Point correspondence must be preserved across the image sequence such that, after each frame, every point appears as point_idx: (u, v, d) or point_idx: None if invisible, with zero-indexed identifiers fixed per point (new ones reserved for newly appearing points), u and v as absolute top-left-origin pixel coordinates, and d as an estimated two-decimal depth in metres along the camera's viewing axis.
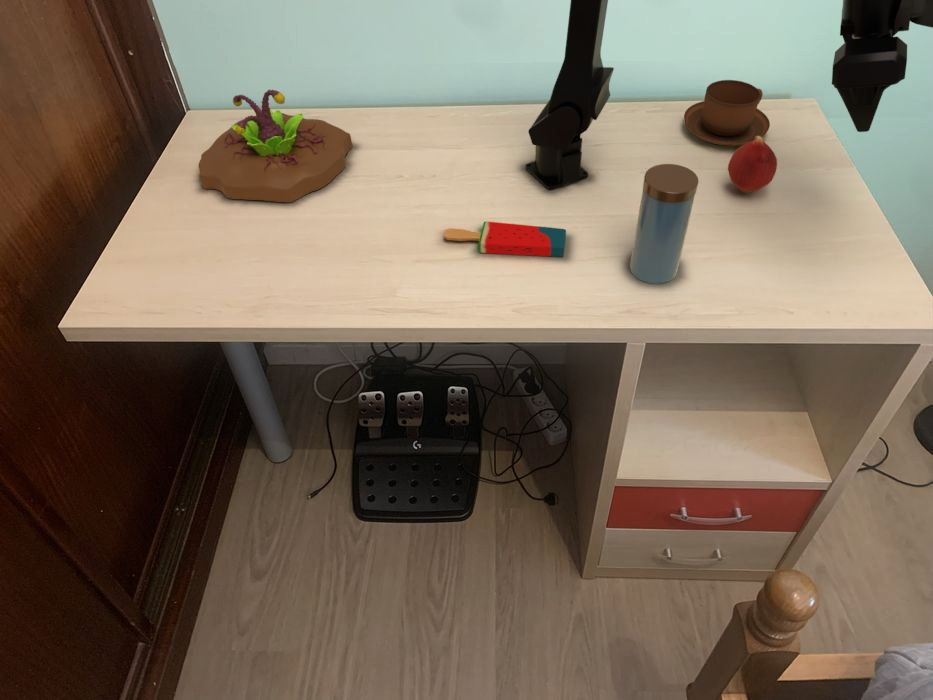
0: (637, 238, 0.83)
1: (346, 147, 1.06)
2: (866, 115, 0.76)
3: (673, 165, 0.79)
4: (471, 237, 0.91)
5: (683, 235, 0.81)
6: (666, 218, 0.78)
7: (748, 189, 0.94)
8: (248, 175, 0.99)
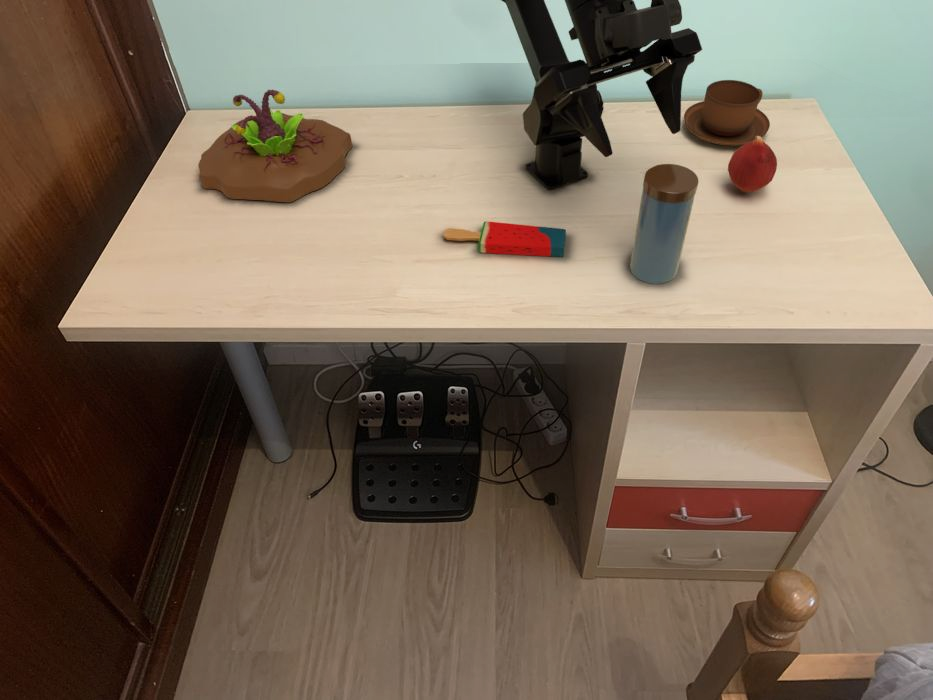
0: (637, 238, 0.83)
1: (346, 147, 1.06)
2: (596, 138, 0.78)
3: (673, 165, 0.79)
4: (471, 237, 0.91)
5: (683, 235, 0.81)
6: (666, 218, 0.78)
7: (748, 189, 0.94)
8: (248, 175, 0.99)
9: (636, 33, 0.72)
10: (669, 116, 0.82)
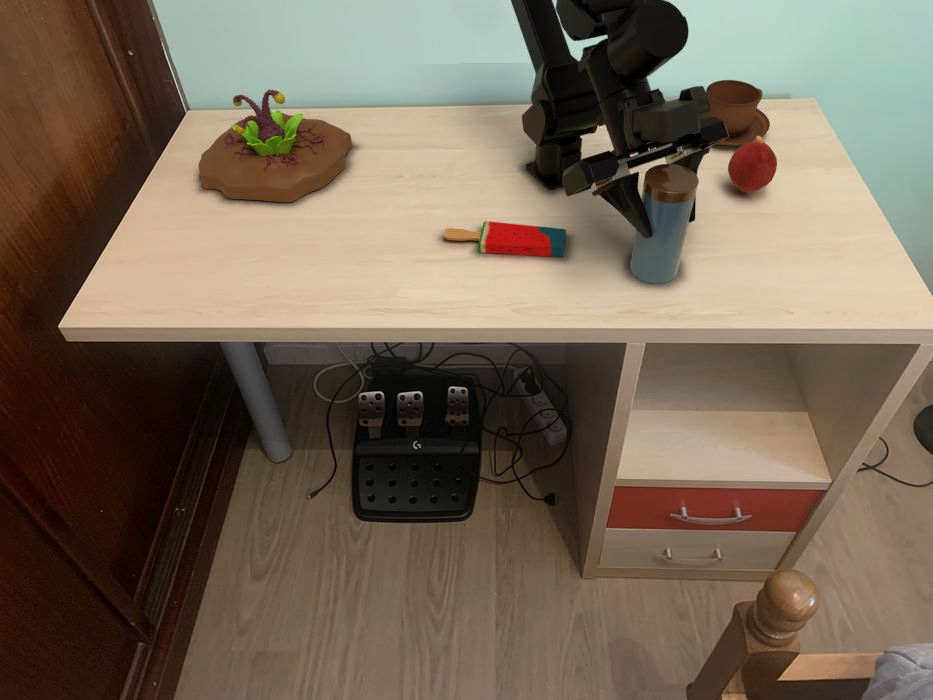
0: (637, 238, 0.83)
1: (346, 147, 1.06)
2: (637, 220, 0.80)
3: (673, 165, 0.79)
4: (471, 237, 0.91)
5: (683, 235, 0.81)
6: (666, 218, 0.78)
7: (748, 189, 0.94)
8: (248, 175, 0.99)
9: (665, 129, 0.73)
10: None
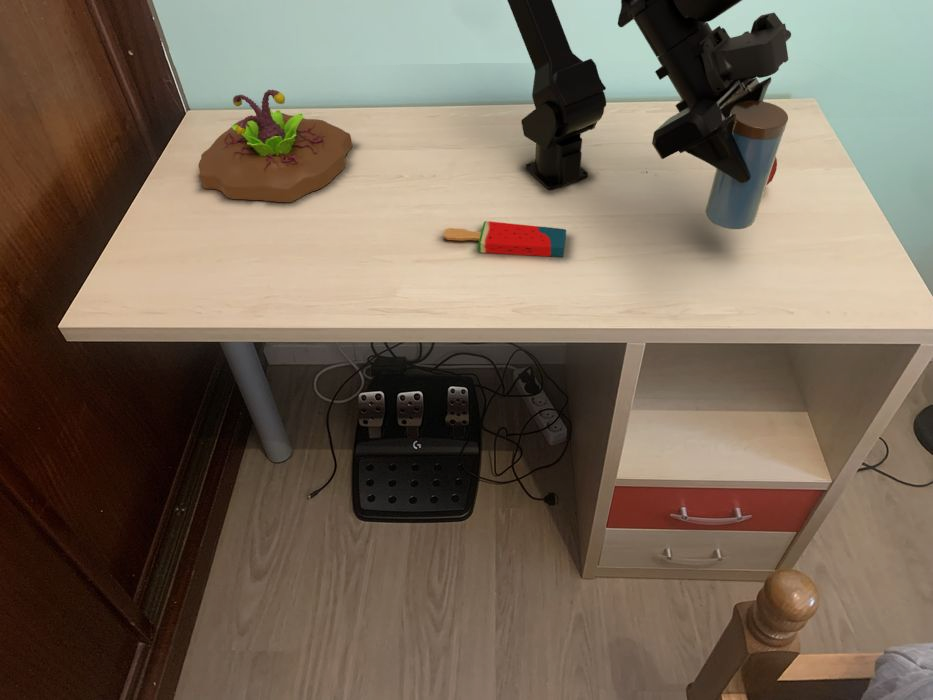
0: (724, 186, 0.79)
1: (346, 147, 1.06)
2: (734, 166, 0.76)
3: (749, 102, 0.76)
4: (471, 237, 0.91)
5: None
6: (764, 156, 0.75)
7: None
8: (248, 175, 0.99)
9: (768, 61, 0.69)
10: None
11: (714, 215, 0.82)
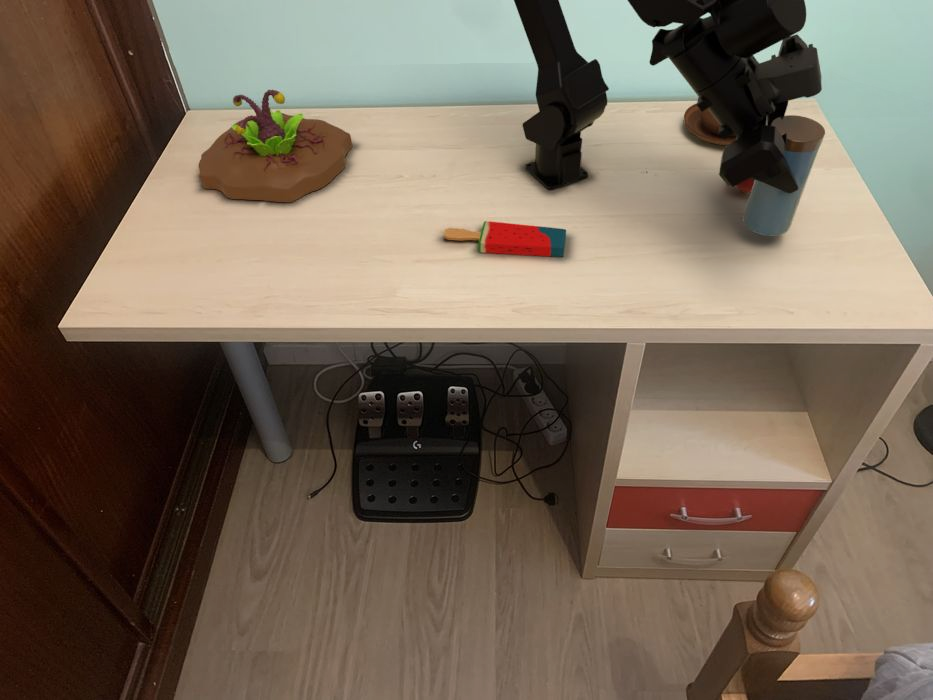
0: (770, 198, 0.83)
1: (346, 147, 1.06)
2: (785, 180, 0.80)
3: (780, 118, 0.81)
4: (471, 237, 0.91)
5: None
6: (809, 165, 0.80)
7: (748, 189, 0.94)
8: (248, 175, 0.99)
9: (816, 82, 0.73)
10: None
11: (759, 226, 0.86)
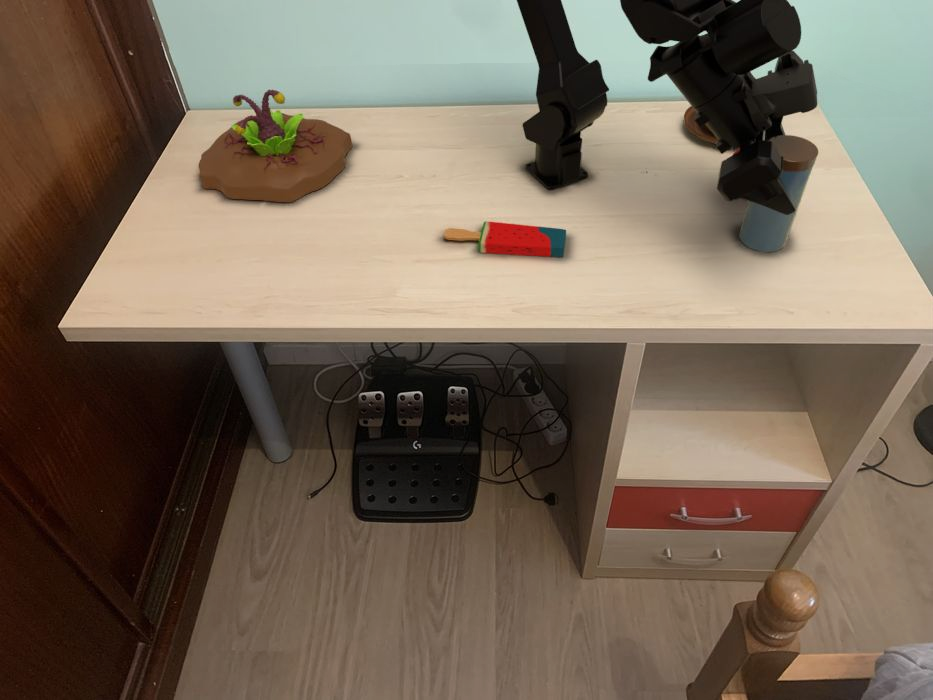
0: (765, 216, 0.85)
1: (346, 147, 1.06)
2: (782, 202, 0.80)
3: (775, 138, 0.83)
4: (471, 237, 0.91)
5: None
6: (803, 184, 0.82)
7: None
8: (248, 175, 0.99)
9: (812, 97, 0.75)
10: None
11: (755, 242, 0.88)
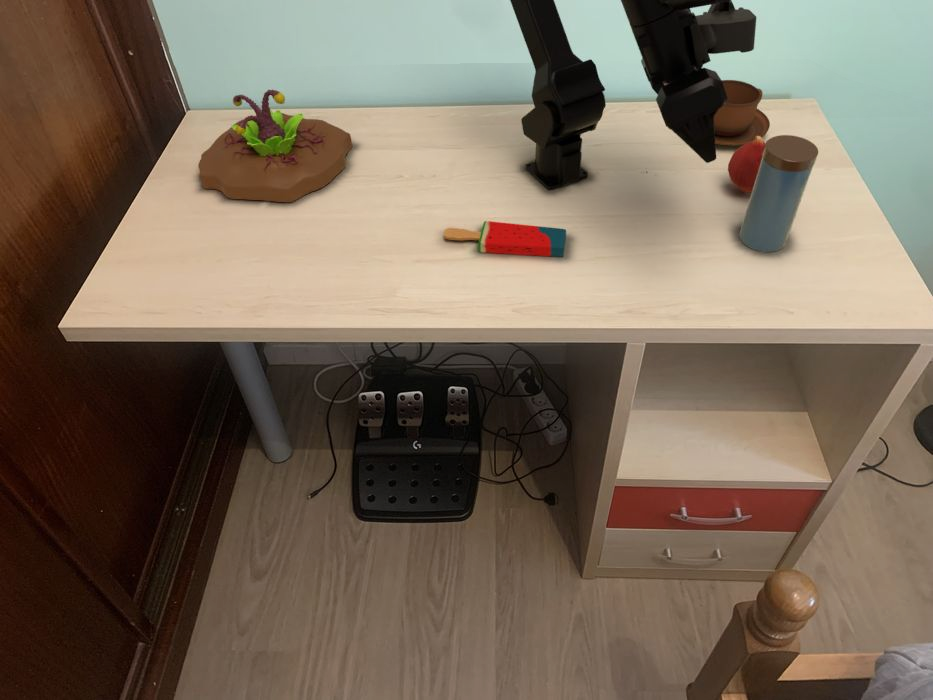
0: (765, 216, 0.85)
1: (346, 147, 1.06)
2: (708, 145, 0.77)
3: (775, 138, 0.83)
4: (471, 237, 0.91)
5: None
6: (803, 184, 0.82)
7: (748, 189, 0.94)
8: (248, 175, 0.99)
9: (753, 37, 0.74)
10: None
11: (755, 242, 0.88)
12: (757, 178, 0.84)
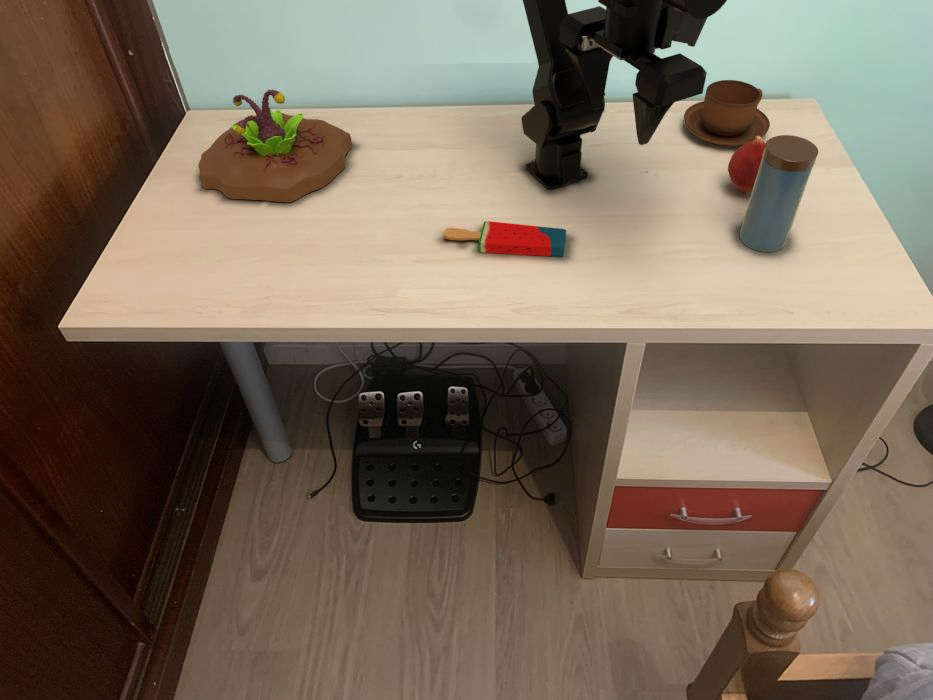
0: (765, 216, 0.85)
1: (346, 147, 1.06)
2: (652, 128, 0.80)
3: (775, 138, 0.83)
4: (471, 237, 0.91)
5: None
6: (803, 184, 0.82)
7: (748, 189, 0.94)
8: (248, 175, 0.99)
9: (699, 34, 0.79)
10: (597, 93, 0.86)
11: (755, 242, 0.88)
12: (757, 178, 0.84)
